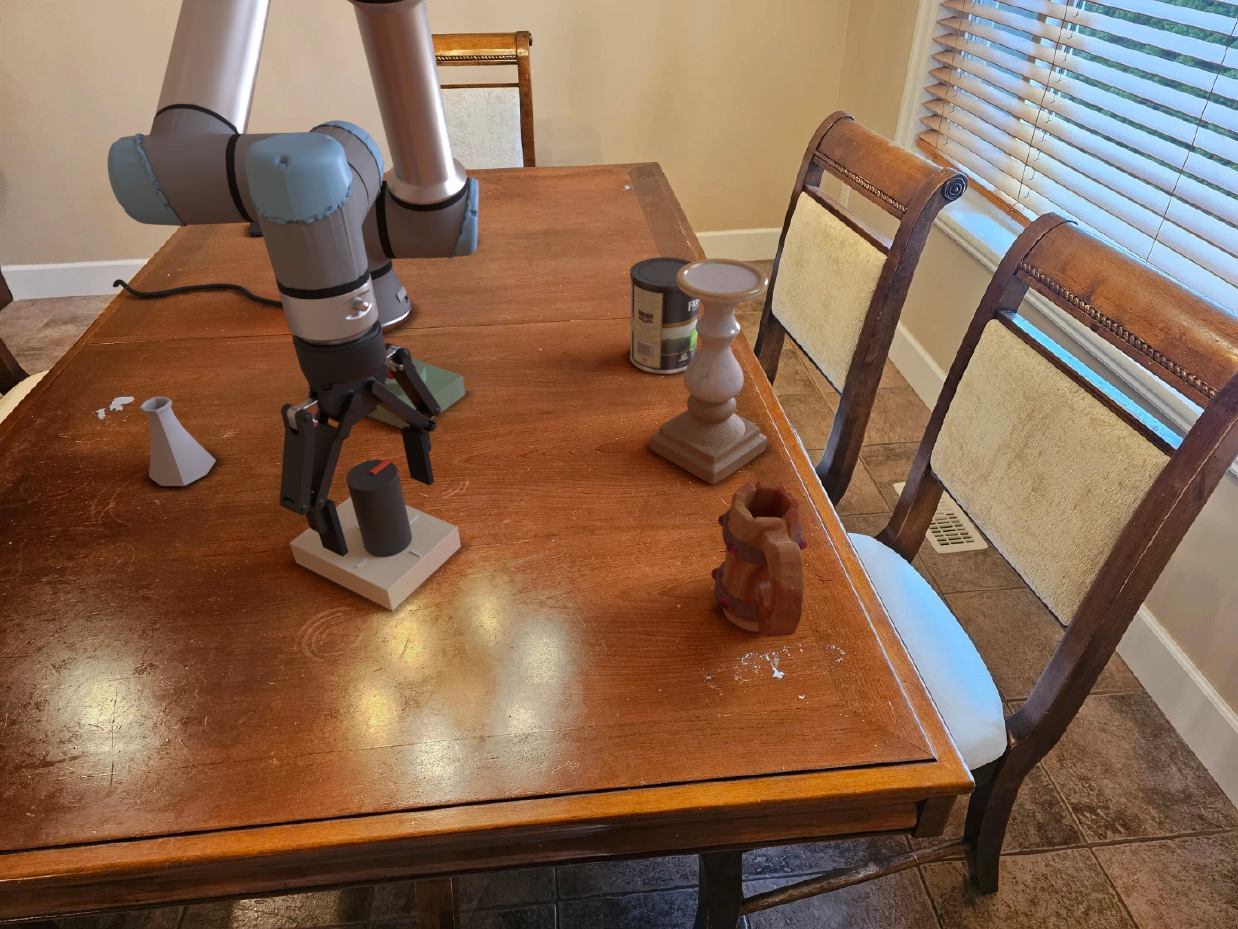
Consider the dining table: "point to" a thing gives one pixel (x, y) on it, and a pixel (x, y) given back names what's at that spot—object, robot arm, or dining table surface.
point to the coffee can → (661, 317)
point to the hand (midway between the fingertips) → (381, 513)
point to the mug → (762, 560)
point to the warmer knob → (379, 507)
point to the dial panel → (380, 575)
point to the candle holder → (714, 376)
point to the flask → (173, 447)
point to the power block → (438, 382)
